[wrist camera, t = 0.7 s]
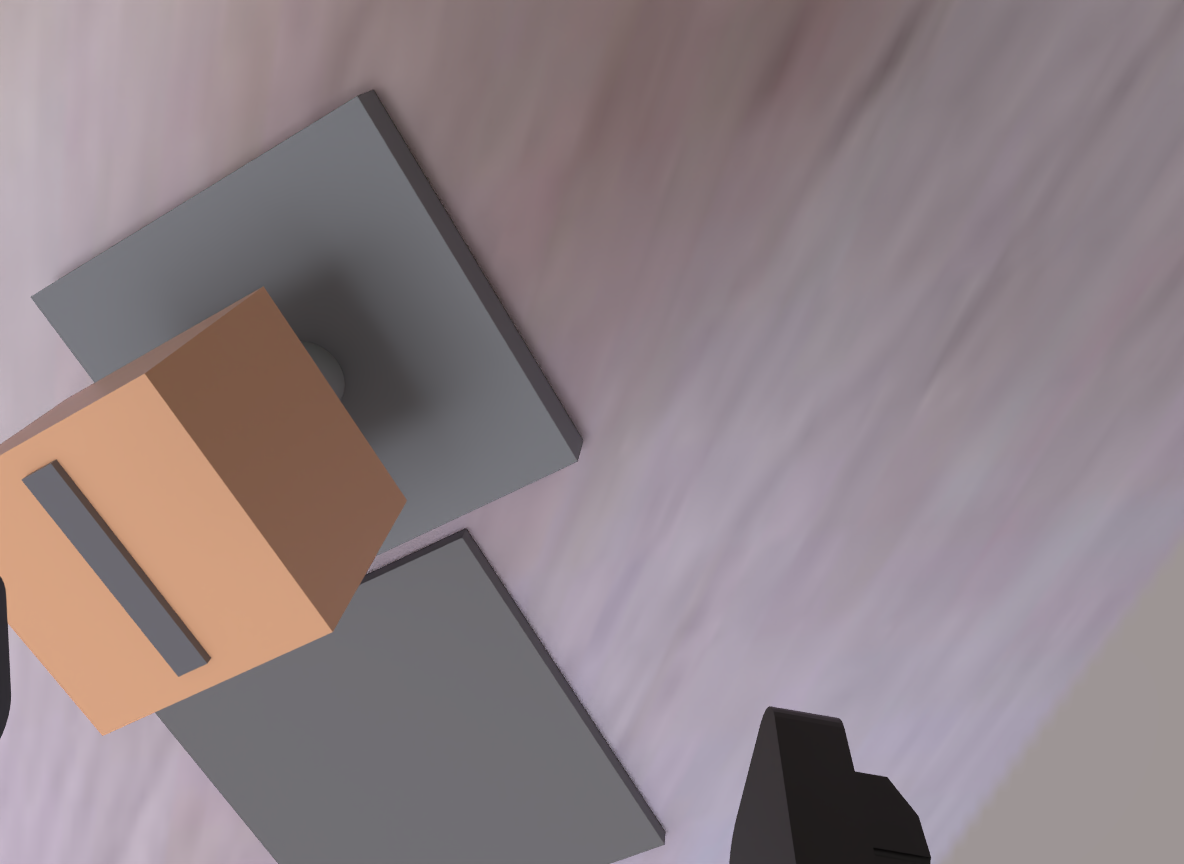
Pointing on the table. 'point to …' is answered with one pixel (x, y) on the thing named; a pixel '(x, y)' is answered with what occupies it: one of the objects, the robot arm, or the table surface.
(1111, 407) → the table surface
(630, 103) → the table surface
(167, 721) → the rubber mat
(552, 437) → the grey peg stand
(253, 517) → the tan cube
